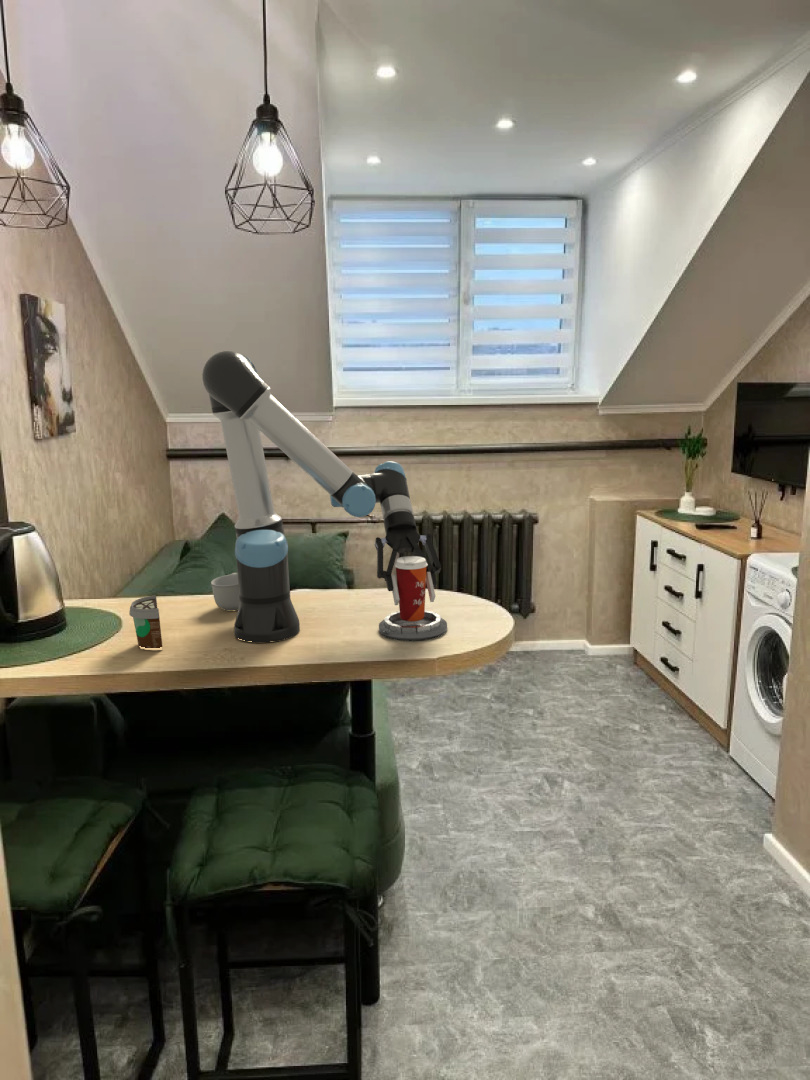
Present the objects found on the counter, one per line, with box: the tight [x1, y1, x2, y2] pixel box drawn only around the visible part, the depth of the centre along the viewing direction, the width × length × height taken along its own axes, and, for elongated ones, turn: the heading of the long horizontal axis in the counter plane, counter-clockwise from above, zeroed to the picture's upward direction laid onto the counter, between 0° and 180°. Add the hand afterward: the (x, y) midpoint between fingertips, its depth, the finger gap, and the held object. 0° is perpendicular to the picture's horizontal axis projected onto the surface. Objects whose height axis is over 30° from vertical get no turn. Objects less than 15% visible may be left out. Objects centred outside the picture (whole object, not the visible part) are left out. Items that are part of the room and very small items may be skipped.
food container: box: [128, 594, 163, 648], centre depth 170 cm, size 12×6×10 cm, turn 21°
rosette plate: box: [378, 610, 448, 642], centre depth 176 cm, size 16×16×3 cm
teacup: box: [210, 572, 240, 611], centre depth 197 cm, size 14×11×8 cm
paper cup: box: [393, 555, 428, 621], centre depth 174 cm, size 8×8×14 cm
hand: (415, 600), depth 171 cm, fingers closed on paper cup, 8 cm apart
